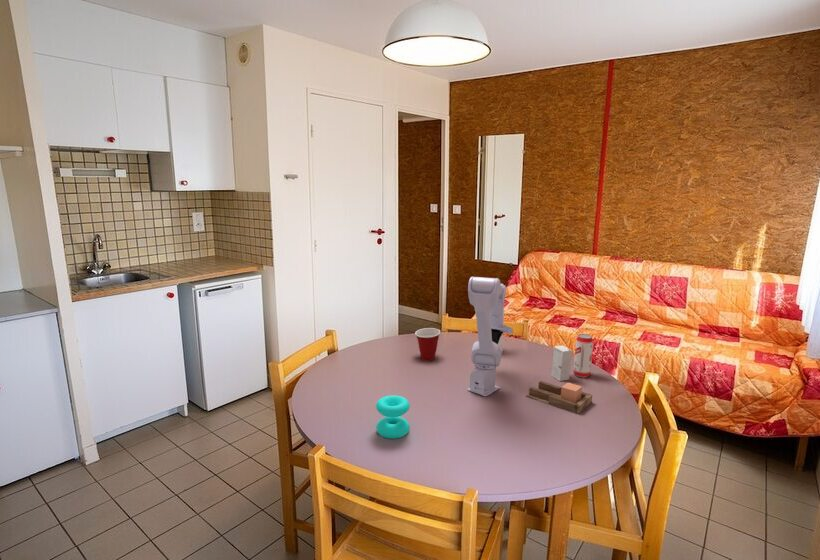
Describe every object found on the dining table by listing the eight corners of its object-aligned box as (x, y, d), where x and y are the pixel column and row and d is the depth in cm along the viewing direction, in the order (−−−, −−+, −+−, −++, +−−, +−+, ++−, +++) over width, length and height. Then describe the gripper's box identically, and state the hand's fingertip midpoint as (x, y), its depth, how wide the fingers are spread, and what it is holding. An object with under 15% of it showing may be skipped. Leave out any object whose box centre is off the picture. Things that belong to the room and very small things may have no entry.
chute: (578, 414, 154) (579, 406, 153) (525, 396, 166) (526, 388, 166) (591, 402, 162) (592, 394, 161) (540, 386, 174) (540, 379, 174)
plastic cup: (410, 355, 204) (410, 329, 202) (432, 352, 209) (433, 326, 206) (421, 364, 195) (421, 336, 192) (444, 360, 199) (445, 333, 197)
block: (574, 406, 157) (575, 391, 156) (560, 402, 161) (561, 387, 160) (580, 401, 161) (581, 386, 160) (566, 397, 164) (567, 382, 163)
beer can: (587, 372, 187) (591, 333, 184) (592, 378, 181) (595, 339, 178) (571, 371, 188) (574, 333, 184) (575, 378, 182) (578, 338, 178)
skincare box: (550, 375, 184) (552, 345, 182) (560, 374, 185) (562, 344, 183) (560, 381, 178) (562, 351, 176) (570, 380, 180) (572, 350, 177)
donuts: (394, 412, 134) (369, 402, 140) (394, 444, 136) (369, 432, 142) (416, 400, 141) (391, 390, 148) (416, 430, 143) (391, 420, 150)
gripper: (517, 315, 180) (515, 349, 183) (485, 308, 190) (484, 340, 192) (508, 319, 175) (506, 353, 178) (475, 312, 184) (474, 345, 187)
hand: (494, 347), depth 185 cm, fingers closed
